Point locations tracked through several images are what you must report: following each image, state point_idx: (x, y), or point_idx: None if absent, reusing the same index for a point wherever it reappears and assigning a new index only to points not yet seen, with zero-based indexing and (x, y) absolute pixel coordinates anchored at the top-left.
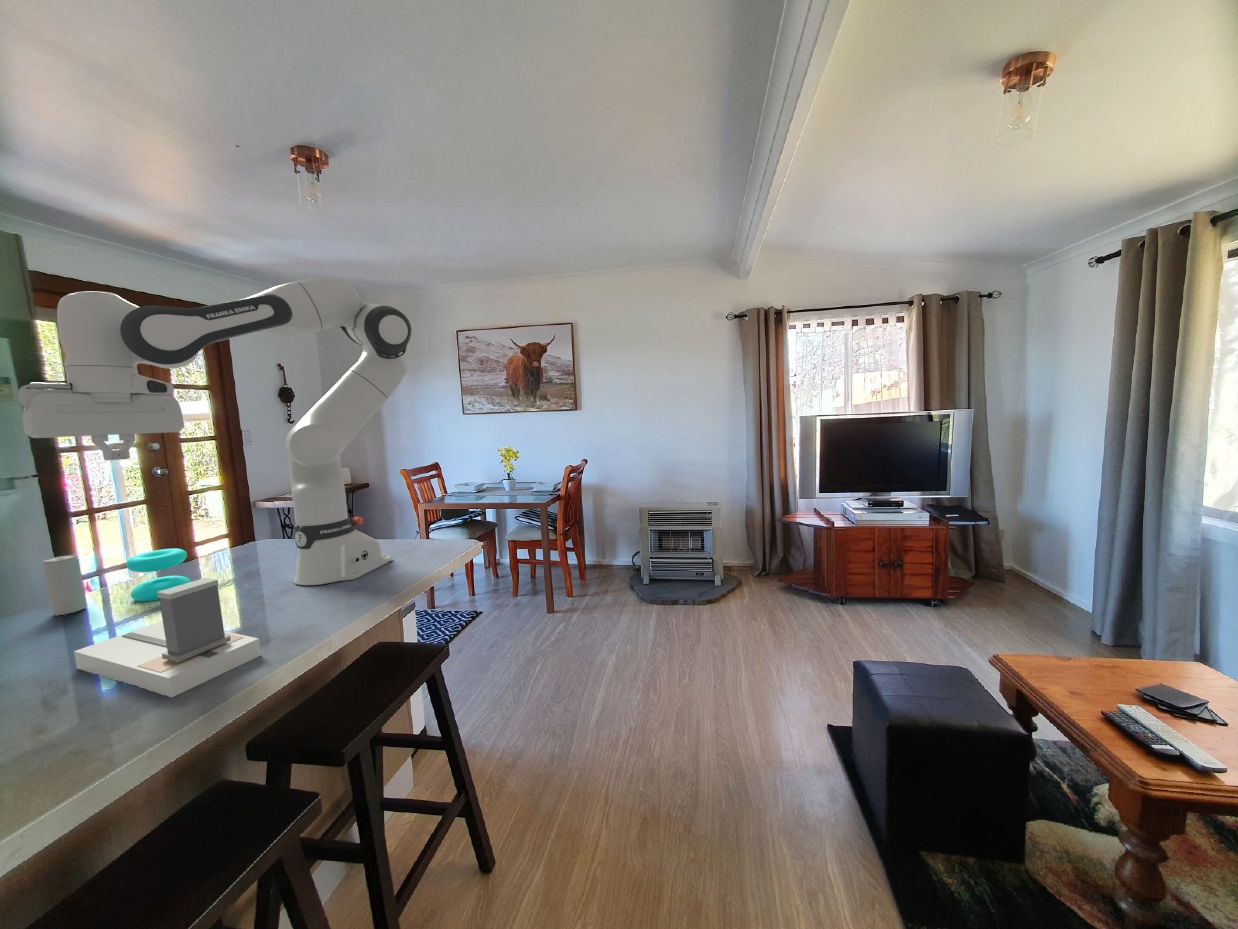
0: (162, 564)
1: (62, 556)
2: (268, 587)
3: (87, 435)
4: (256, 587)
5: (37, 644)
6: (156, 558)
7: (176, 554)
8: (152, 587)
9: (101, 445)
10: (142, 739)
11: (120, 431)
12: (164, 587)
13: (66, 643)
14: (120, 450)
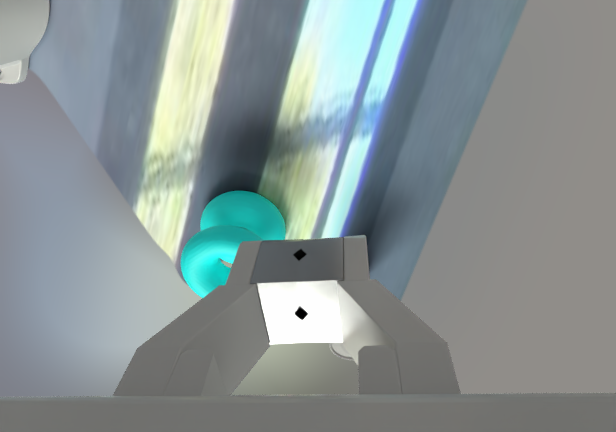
0: (233, 227)
1: (343, 357)
2: (102, 48)
3: (589, 394)
4: (121, 79)
5: (434, 149)
6: (236, 242)
7: (201, 240)
8: (259, 215)
9: (412, 318)
10: None
11: (232, 421)
12: (245, 203)
13: (417, 103)
14: (283, 277)
